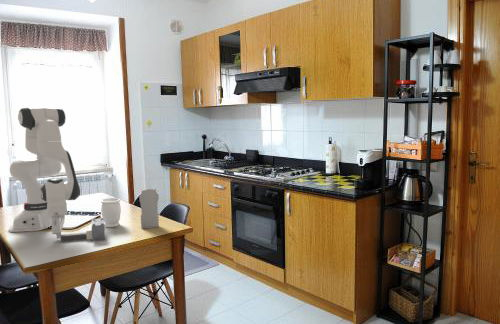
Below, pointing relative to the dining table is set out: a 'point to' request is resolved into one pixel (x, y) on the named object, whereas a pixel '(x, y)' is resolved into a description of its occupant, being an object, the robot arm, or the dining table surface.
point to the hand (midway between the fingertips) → (59, 237)
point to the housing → (98, 229)
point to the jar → (111, 211)
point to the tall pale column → (149, 208)
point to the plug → (77, 236)
